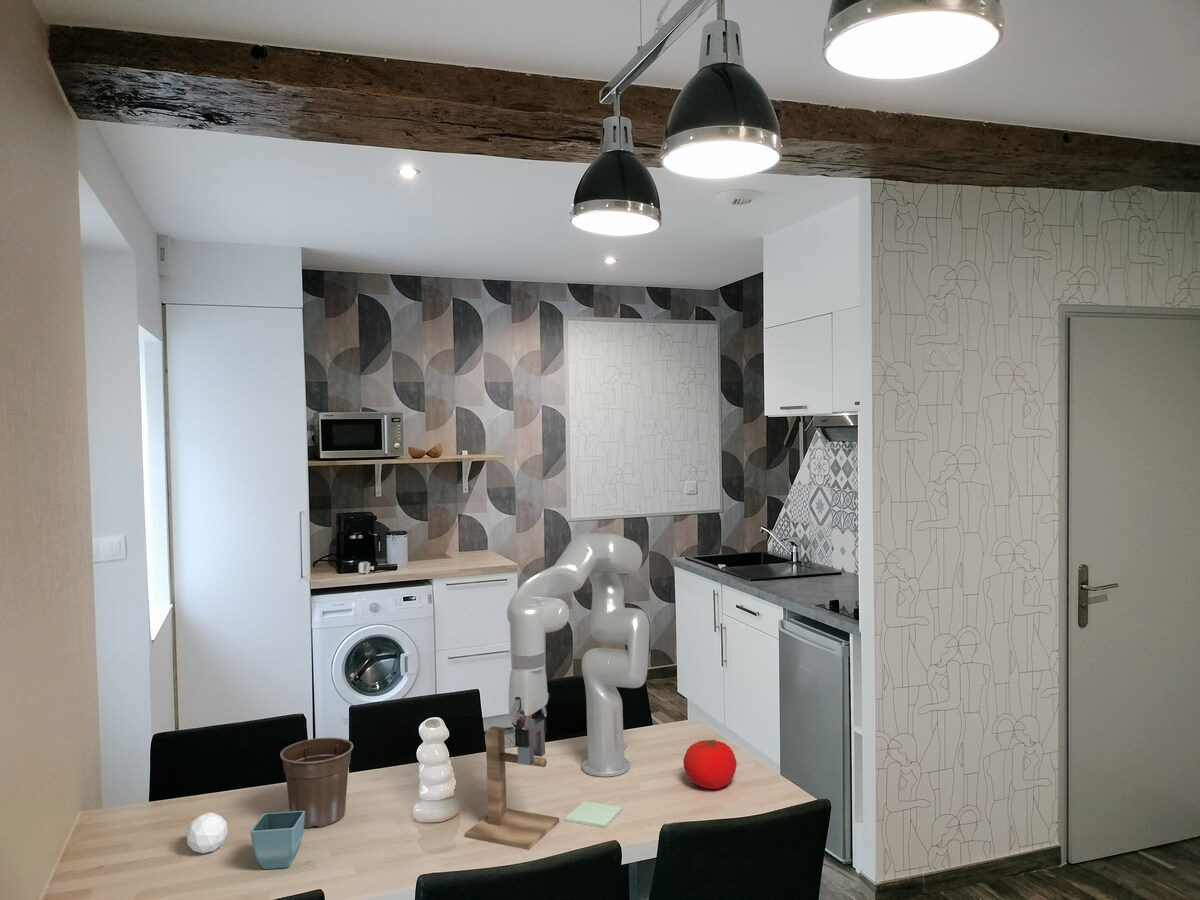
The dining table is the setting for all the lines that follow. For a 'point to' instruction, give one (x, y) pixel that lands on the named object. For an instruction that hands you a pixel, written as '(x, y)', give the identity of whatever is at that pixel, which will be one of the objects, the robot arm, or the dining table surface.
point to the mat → (594, 814)
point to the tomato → (710, 763)
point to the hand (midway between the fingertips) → (531, 739)
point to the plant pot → (317, 778)
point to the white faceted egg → (206, 833)
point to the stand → (500, 820)
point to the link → (533, 742)
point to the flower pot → (277, 838)
